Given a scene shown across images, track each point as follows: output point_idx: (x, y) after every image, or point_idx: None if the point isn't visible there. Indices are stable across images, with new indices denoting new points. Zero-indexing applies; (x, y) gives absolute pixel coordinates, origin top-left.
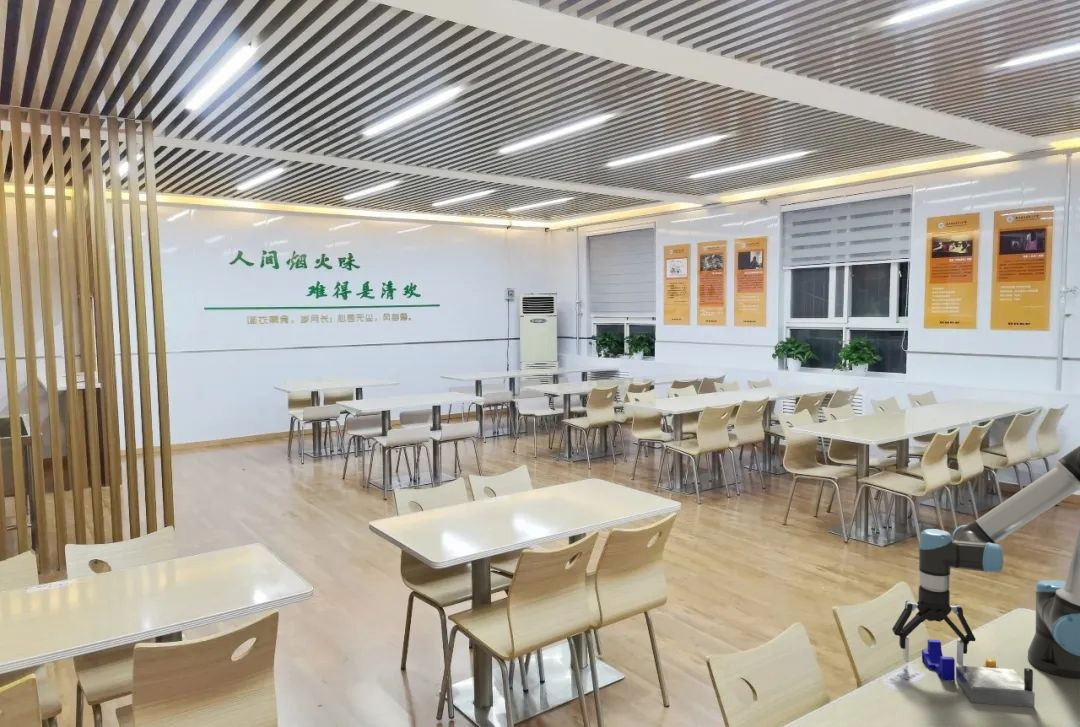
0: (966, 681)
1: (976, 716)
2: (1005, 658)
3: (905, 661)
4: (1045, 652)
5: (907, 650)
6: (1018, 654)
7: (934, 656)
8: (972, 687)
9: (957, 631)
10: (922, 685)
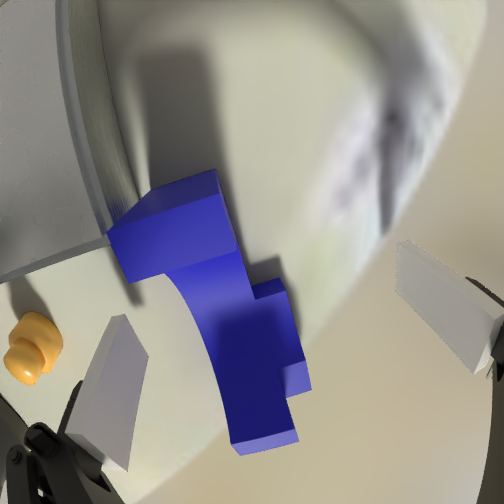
0: (71, 27)
1: None
2: (56, 423)
3: (409, 240)
4: None
5: (444, 272)
6: None
7: (256, 362)
8: None
9: None
10: (324, 63)
